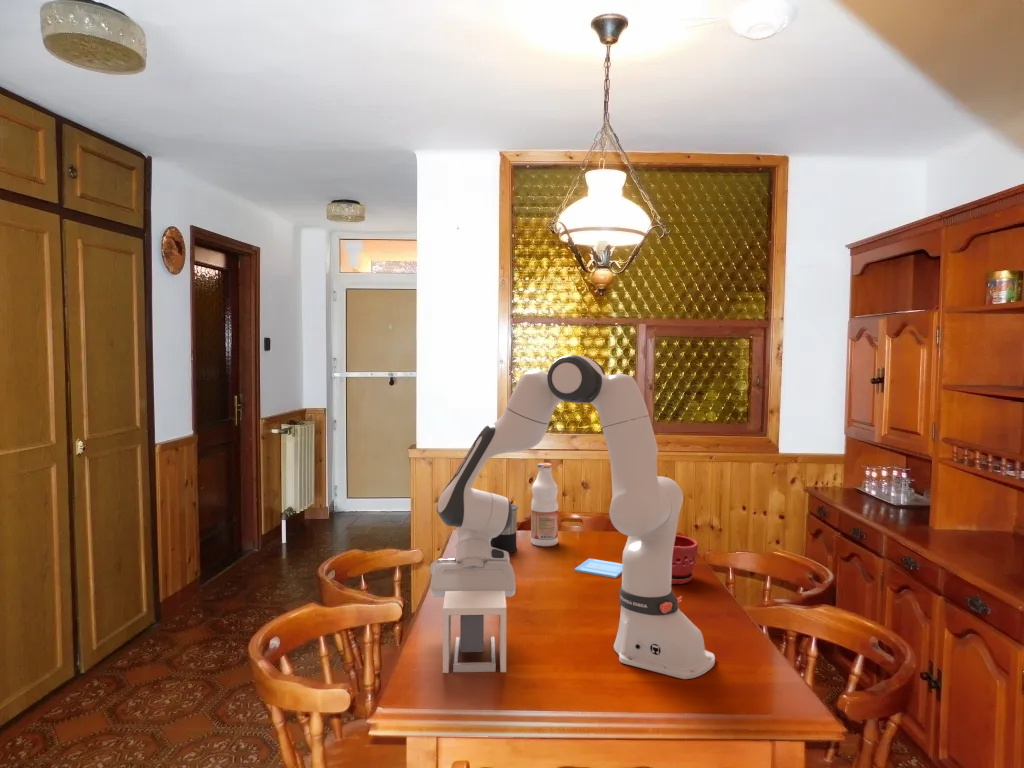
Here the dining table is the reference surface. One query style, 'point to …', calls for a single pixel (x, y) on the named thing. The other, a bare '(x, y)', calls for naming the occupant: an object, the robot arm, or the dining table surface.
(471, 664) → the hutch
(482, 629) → the grey block
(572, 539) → the dining table surface
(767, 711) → the dining table surface
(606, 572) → the light blue flat slab
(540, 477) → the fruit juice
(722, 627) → the dining table surface
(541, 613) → the dining table surface
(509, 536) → the milk frother
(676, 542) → the plant pot
